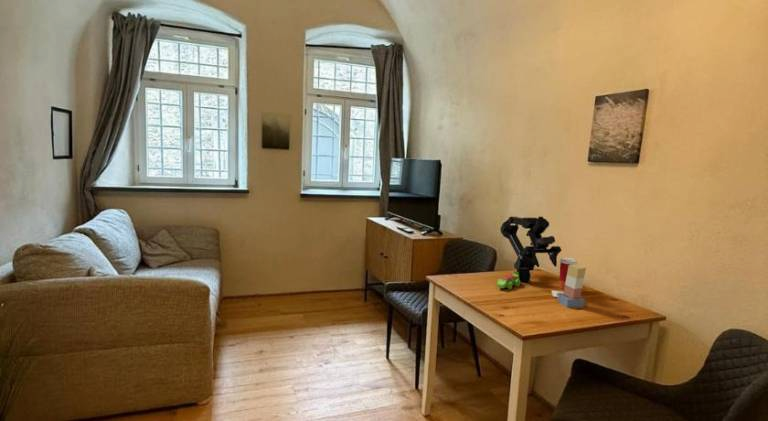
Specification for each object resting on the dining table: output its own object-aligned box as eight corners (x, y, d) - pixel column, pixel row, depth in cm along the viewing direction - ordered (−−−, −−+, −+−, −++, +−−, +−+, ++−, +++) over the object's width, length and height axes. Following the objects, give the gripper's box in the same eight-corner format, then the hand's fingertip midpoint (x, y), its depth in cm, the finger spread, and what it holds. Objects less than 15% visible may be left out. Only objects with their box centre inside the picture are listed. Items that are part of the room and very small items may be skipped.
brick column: (563, 294, 189) (568, 265, 186) (570, 293, 191) (576, 264, 188) (572, 298, 184) (578, 268, 182) (580, 297, 187) (586, 267, 184)
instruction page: (552, 296, 197) (553, 295, 197) (551, 290, 206) (551, 290, 206) (580, 300, 194) (580, 299, 194) (577, 294, 202) (578, 293, 202)
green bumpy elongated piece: (504, 292, 201) (505, 280, 200) (492, 288, 206) (493, 276, 205) (523, 284, 215) (525, 273, 214) (512, 281, 220) (513, 270, 219)
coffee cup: (571, 286, 215) (574, 258, 213) (576, 291, 207) (580, 262, 204) (554, 285, 215) (557, 256, 213) (559, 290, 207) (562, 261, 205)
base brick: (557, 301, 192) (558, 293, 191) (574, 302, 192) (575, 293, 192) (566, 308, 184) (567, 299, 183) (584, 308, 185) (585, 299, 184)
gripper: (526, 229, 199) (537, 258, 190) (561, 230, 203) (573, 257, 194) (516, 242, 208) (526, 270, 199) (550, 242, 212) (561, 269, 203)
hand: (547, 266), depth 199 cm, fingers open, 9 cm apart
